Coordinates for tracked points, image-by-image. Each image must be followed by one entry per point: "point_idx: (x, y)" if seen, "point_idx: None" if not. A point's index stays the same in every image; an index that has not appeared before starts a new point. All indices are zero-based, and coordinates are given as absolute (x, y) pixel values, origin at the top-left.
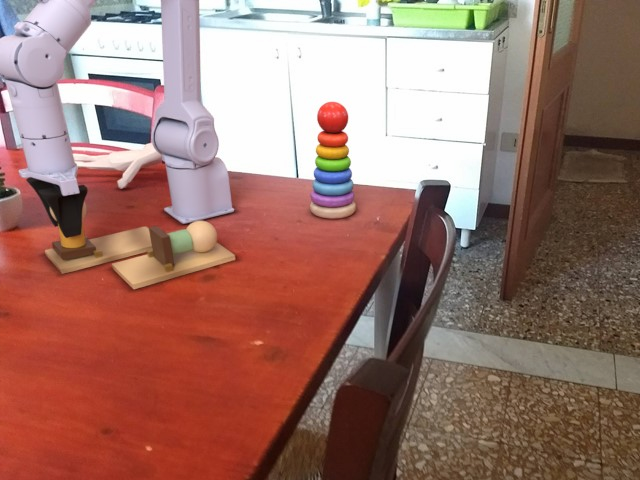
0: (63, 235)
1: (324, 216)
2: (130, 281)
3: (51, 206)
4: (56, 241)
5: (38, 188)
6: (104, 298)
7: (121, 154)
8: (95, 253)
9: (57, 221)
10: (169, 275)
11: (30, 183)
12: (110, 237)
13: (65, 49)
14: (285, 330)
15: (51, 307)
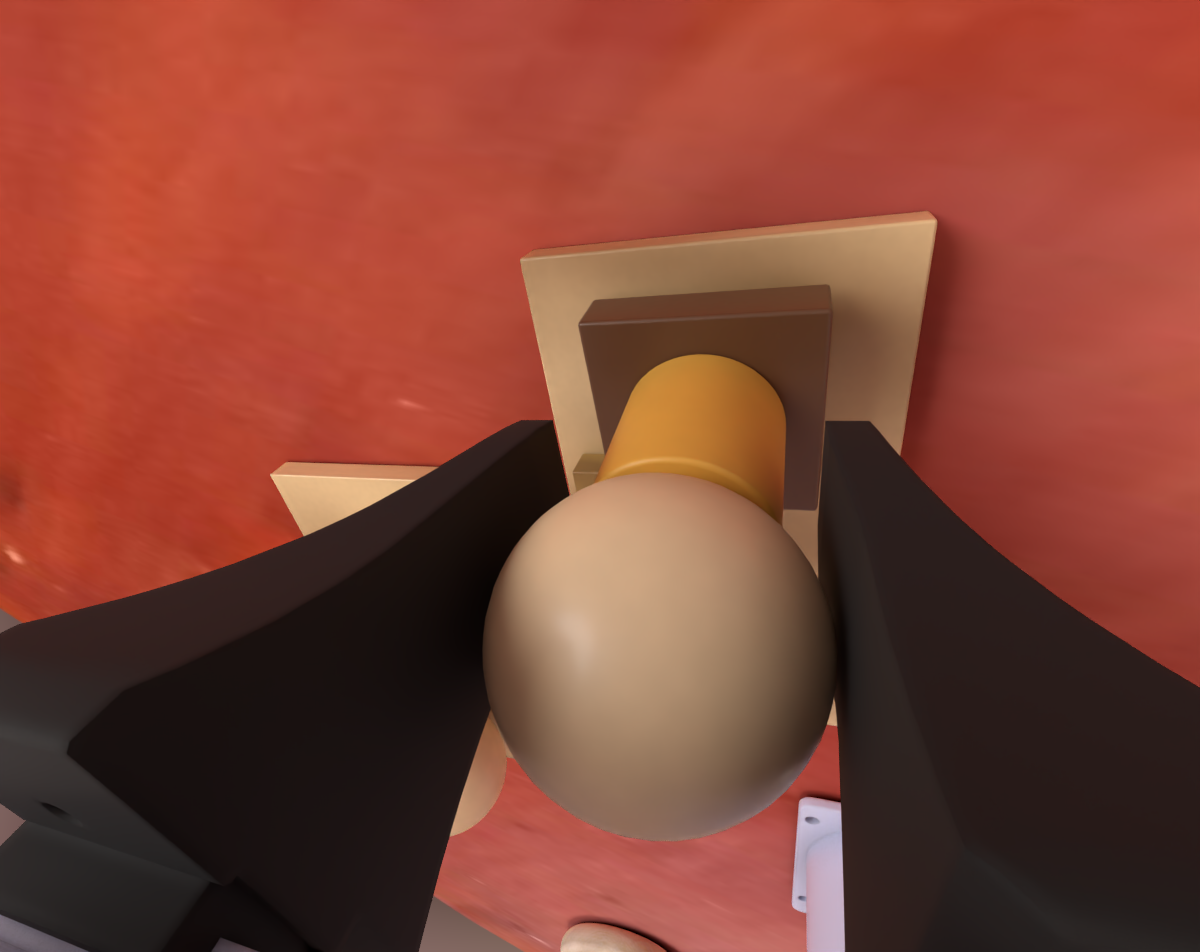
0: (633, 418)
1: (582, 928)
2: (295, 478)
3: (185, 581)
4: (822, 341)
5: (913, 778)
6: (232, 355)
7: None
8: (574, 471)
9: (454, 477)
10: None
11: (975, 883)
12: None
13: None
14: (67, 609)
15: (163, 118)
